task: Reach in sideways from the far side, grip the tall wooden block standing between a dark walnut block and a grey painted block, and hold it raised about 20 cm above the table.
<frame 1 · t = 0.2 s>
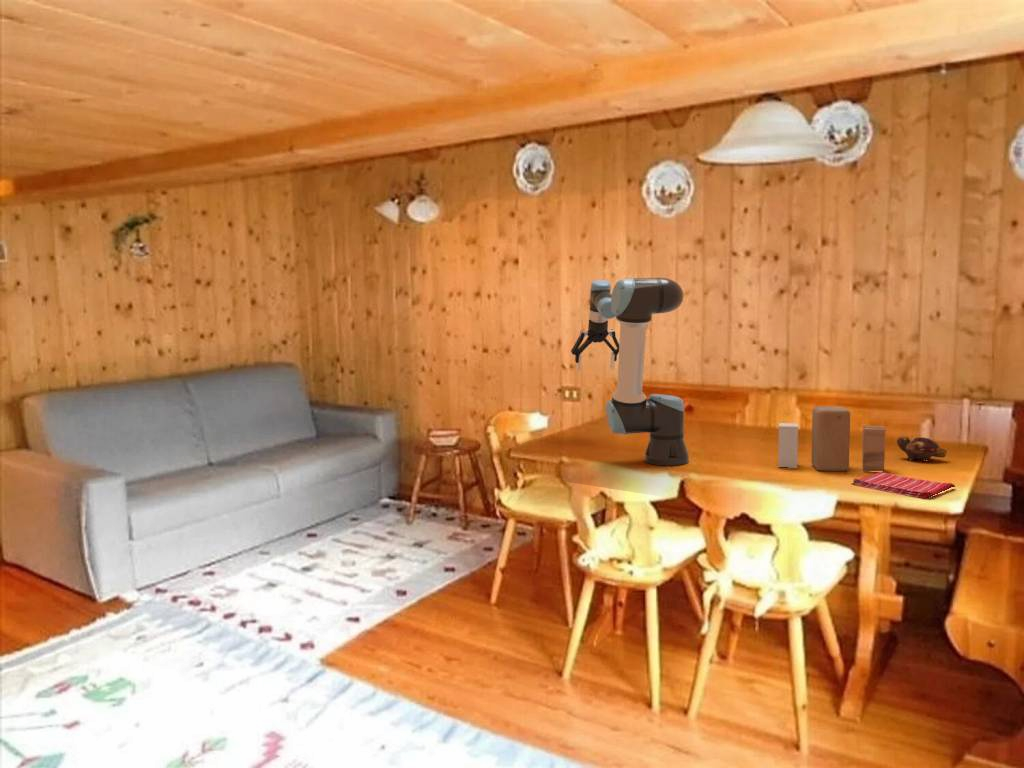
hand: (595, 369, 326), 28 cm above the table, tool tilted 20°, fingers open, 13 cm apart
walnut block: (872, 470, 262), on the table
decorative turtle: (920, 460, 275), on the table
dish towel: (902, 489, 242), on the table
wooden block: (829, 468, 267), on the table
grey painted block: (787, 466, 271), on the table
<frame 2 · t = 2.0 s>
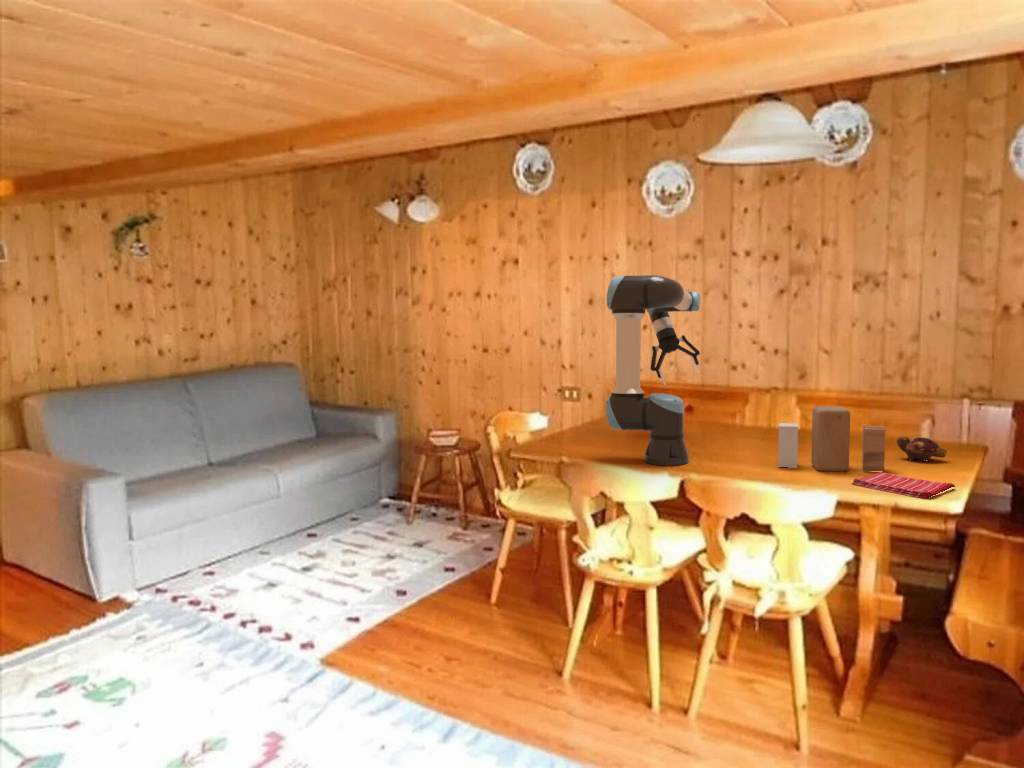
hand: (681, 379, 321), 23 cm above the table, tool tilted 30°, fingers open, 13 cm apart
nothing on the table moved.
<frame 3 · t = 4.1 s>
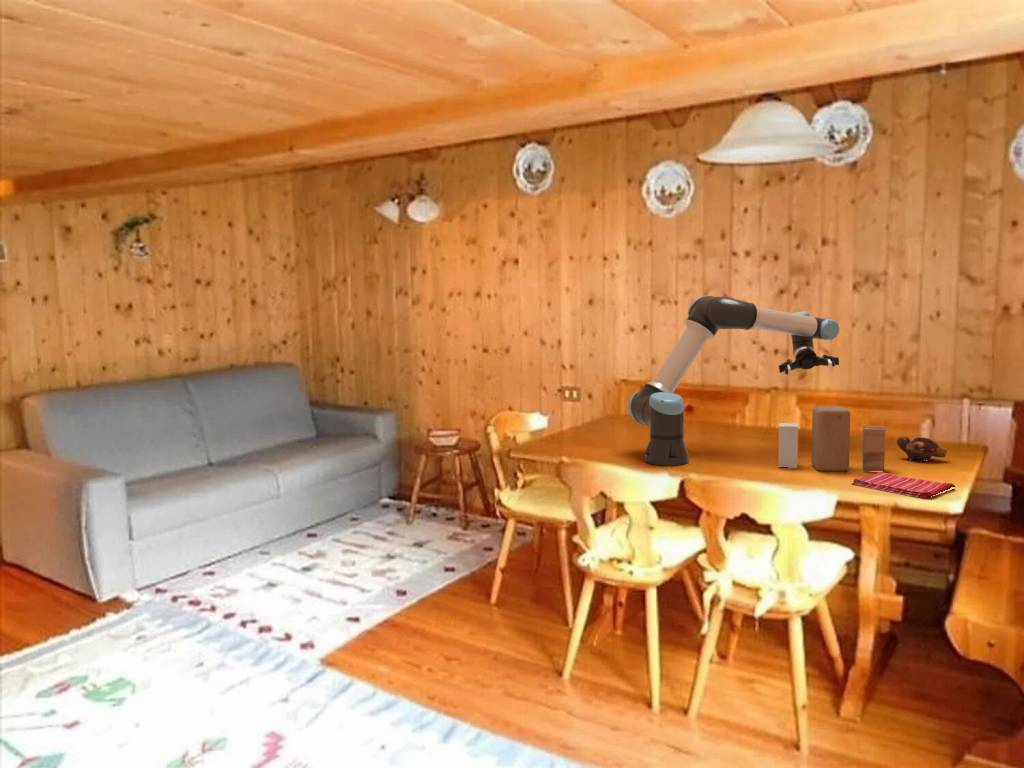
hand: (810, 369, 282), 30 cm above the table, tool horizontal, fingers open, 13 cm apart
nothing on the table moved.
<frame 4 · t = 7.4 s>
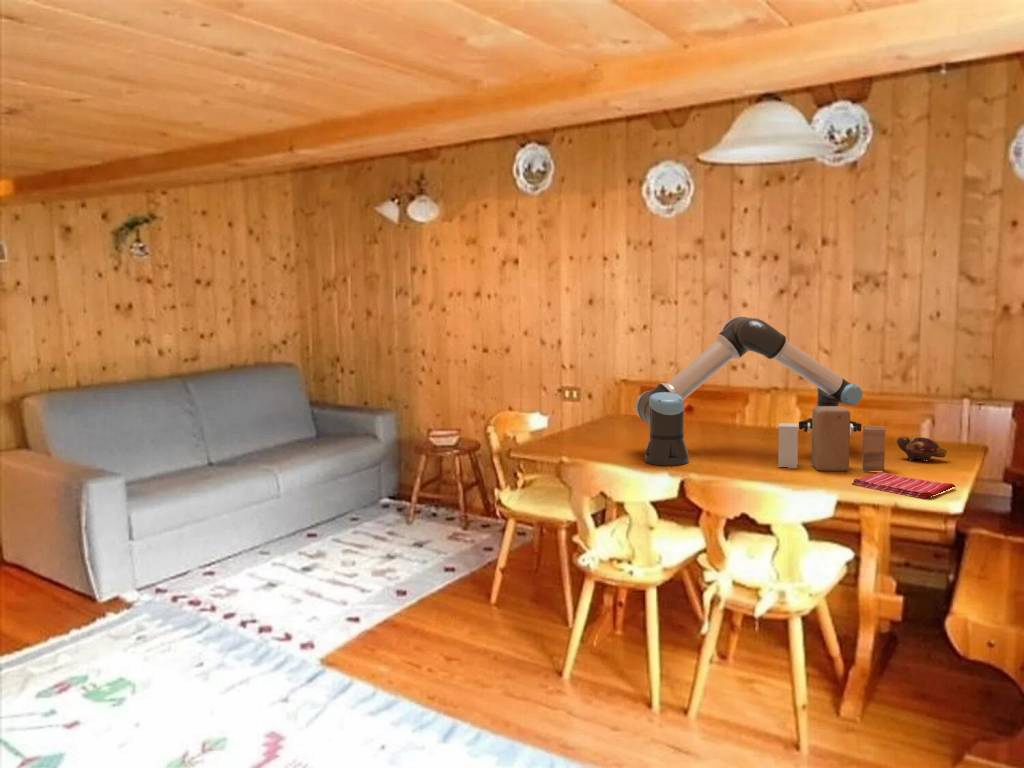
hand: (830, 430, 274), 11 cm above the table, tool horizontal, fingers open, 13 cm apart
nothing on the table moved.
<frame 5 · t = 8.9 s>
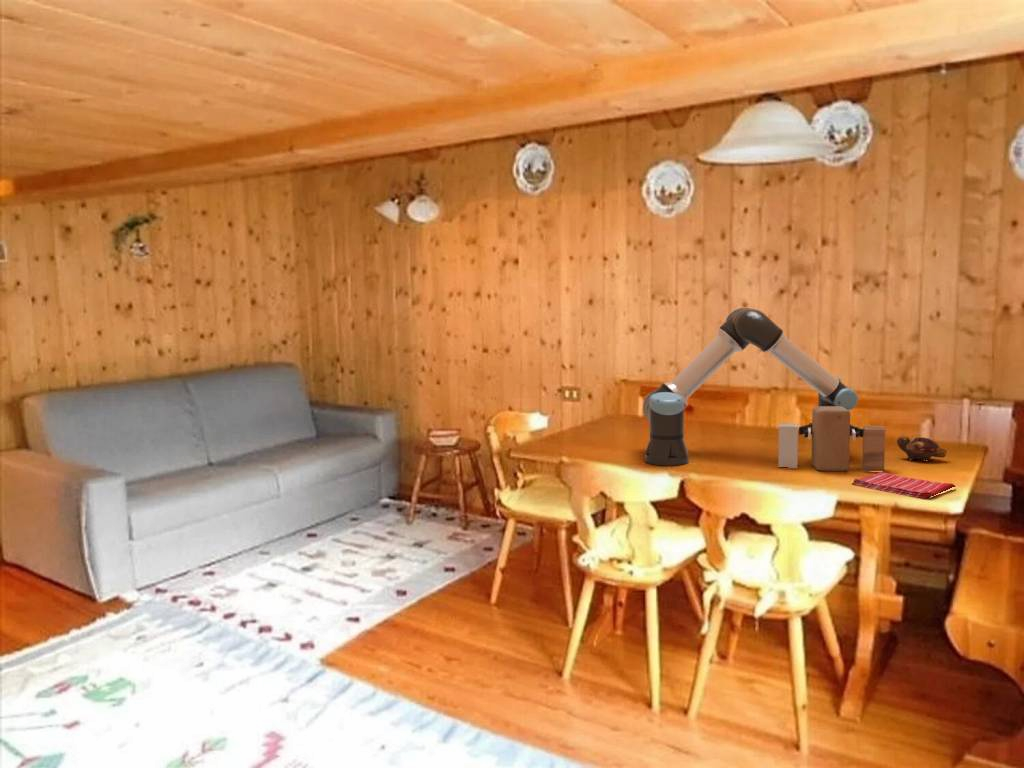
hand: (831, 436, 264), 11 cm above the table, tool horizontal, fingers open, 13 cm apart
nothing on the table moved.
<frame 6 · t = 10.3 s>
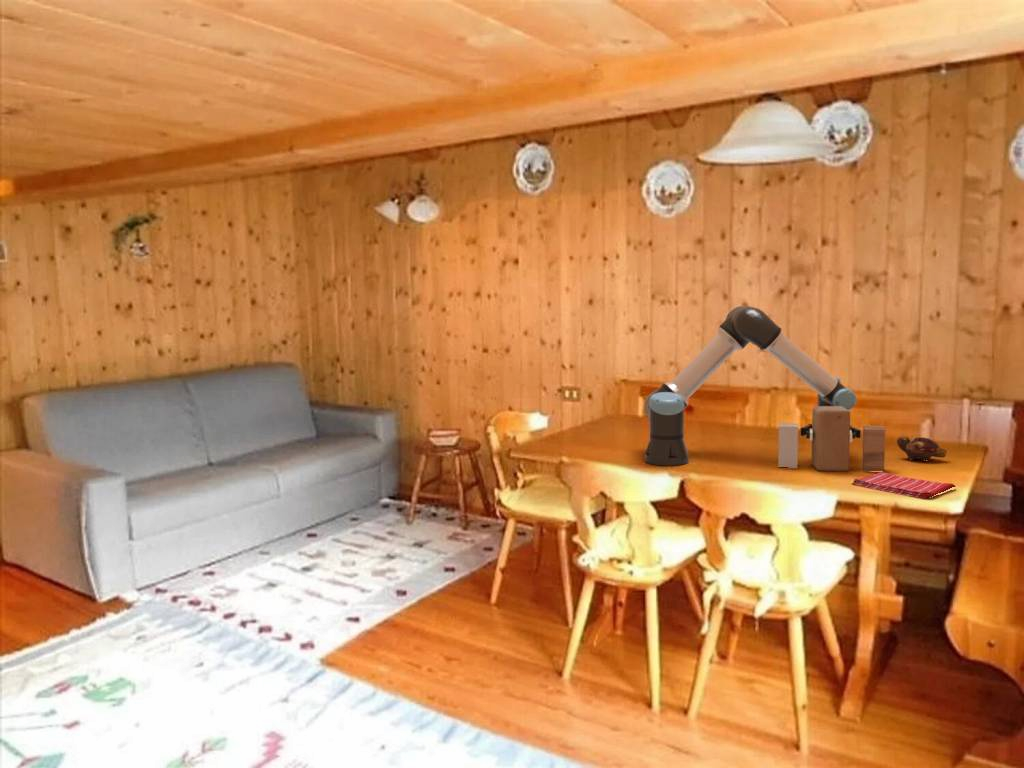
hand: (830, 437, 262), 11 cm above the table, tool horizontal, fingers closed on wooden block, 11 cm apart
wooden block: (829, 468, 267), on the table, touching gripper
everything else where it was.
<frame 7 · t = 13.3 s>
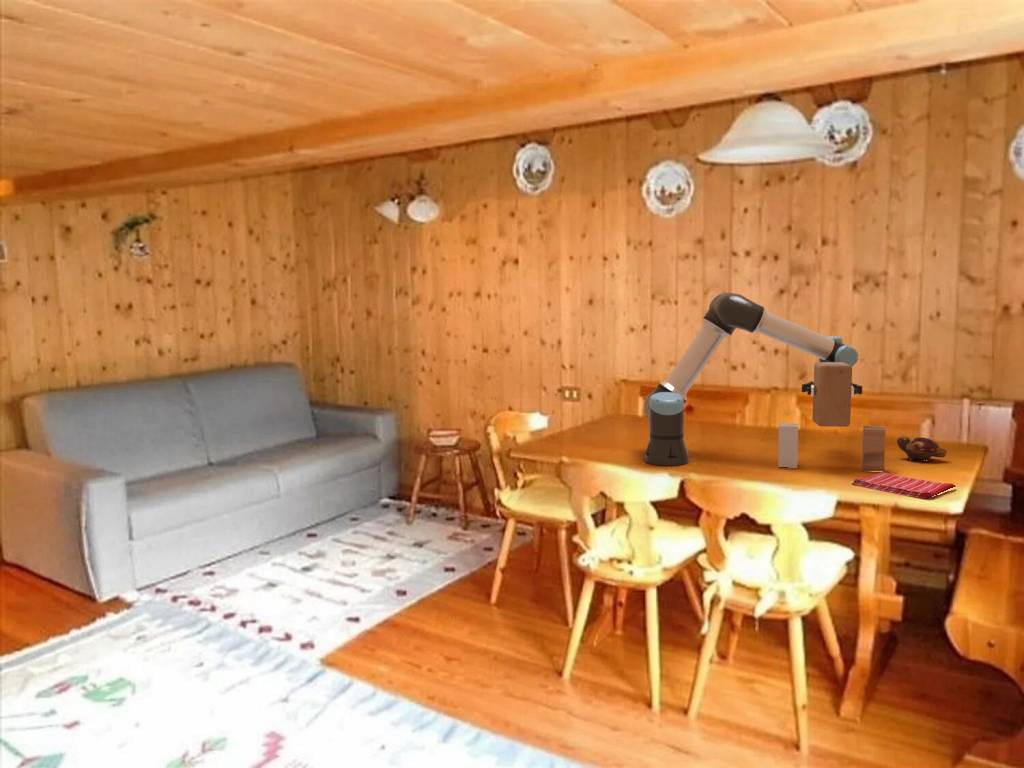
hand: (832, 392, 260), 26 cm above the table, tool horizontal, fingers closed on wooden block, 11 cm apart
wooden block: (830, 424, 265), point 14 cm above the table, touching gripper
everything else where it was.
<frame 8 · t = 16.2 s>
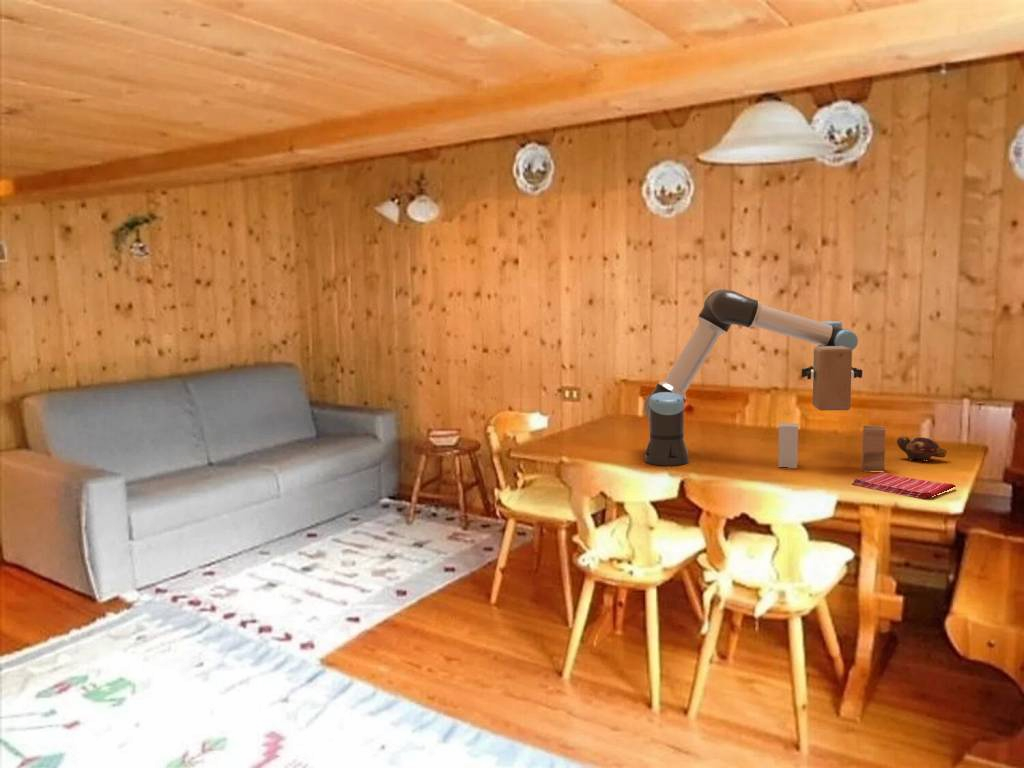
hand: (832, 376, 259), 31 cm above the table, tool horizontal, fingers closed on wooden block, 11 cm apart
wooden block: (831, 408, 264), point 20 cm above the table, touching gripper
everything else where it was.
at the end: wooden block inside the target area (0.0 cm from its centre), point 19.7 cm above the table; walnut block moved 0.0 cm from its start; grey painted block moved 0.0 cm from its start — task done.
